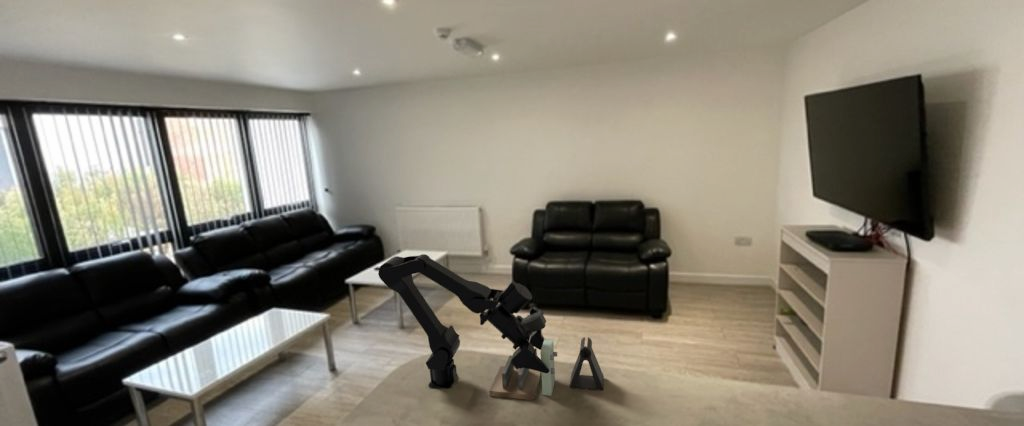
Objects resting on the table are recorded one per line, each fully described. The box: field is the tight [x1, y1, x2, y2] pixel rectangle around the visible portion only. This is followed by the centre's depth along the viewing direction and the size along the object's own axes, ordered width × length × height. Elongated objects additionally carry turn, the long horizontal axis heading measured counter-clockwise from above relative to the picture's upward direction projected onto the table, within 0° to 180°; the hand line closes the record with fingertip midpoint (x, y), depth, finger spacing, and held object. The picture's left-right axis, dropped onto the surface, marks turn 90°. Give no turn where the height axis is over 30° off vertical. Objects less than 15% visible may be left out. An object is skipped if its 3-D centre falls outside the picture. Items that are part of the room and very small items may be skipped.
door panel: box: [540, 338, 558, 397], centre depth 114 cm, size 3×7×12 cm, turn 167°
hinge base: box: [488, 355, 542, 401], centre depth 117 cm, size 12×12×6 cm
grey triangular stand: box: [569, 337, 605, 391], centre depth 115 cm, size 9×6×12 cm, turn 77°
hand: (550, 362), depth 114 cm, fingers open, 9 cm apart
